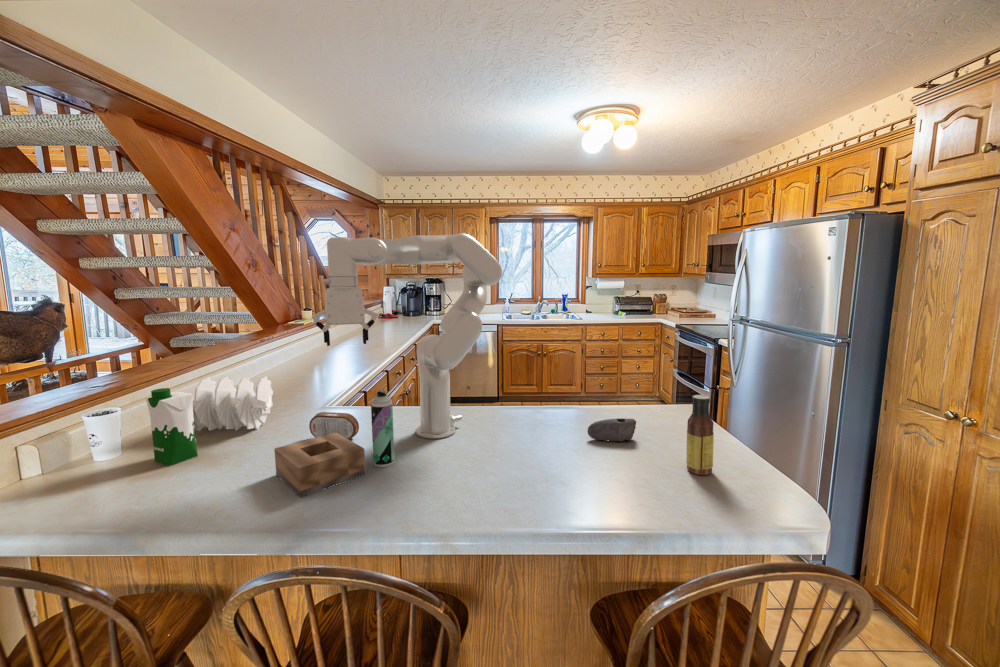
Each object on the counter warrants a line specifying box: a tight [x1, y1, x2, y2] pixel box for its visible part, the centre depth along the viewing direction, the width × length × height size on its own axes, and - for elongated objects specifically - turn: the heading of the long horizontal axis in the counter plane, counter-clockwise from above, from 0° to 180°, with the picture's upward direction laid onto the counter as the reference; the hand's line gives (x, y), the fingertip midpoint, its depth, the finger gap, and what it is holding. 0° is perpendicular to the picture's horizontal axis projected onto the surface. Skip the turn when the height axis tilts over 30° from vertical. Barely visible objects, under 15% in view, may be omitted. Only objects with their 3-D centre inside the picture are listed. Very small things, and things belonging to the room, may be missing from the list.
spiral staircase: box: [193, 375, 274, 432], centre depth 142 cm, size 18×18×25 cm
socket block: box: [273, 433, 366, 498], centre depth 109 cm, size 16×16×7 cm
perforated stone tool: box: [587, 418, 637, 442], centre depth 133 cm, size 15×5×7 cm, turn 86°
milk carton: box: [145, 387, 198, 467], centre depth 118 cm, size 9×9×20 cm
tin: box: [308, 411, 360, 441], centre depth 133 cm, size 15×3×8 cm, turn 84°
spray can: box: [370, 389, 395, 468], centre depth 116 cm, size 6×6×20 cm
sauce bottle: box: [686, 394, 715, 476], centre depth 111 cm, size 6×6×20 cm
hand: (346, 344), depth 122 cm, fingers open, 9 cm apart
